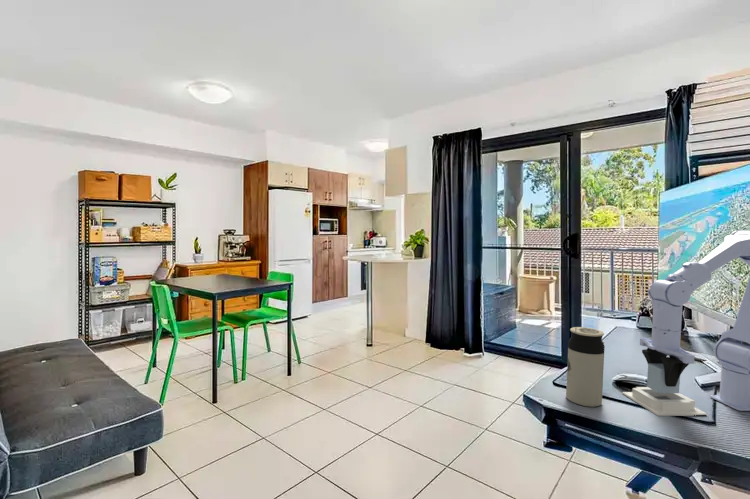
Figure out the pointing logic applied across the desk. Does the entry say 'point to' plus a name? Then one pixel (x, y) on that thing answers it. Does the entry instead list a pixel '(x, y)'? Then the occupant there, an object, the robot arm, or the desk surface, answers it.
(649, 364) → the plug block
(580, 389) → the travel mug
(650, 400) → the socket plate
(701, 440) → the desk surface
